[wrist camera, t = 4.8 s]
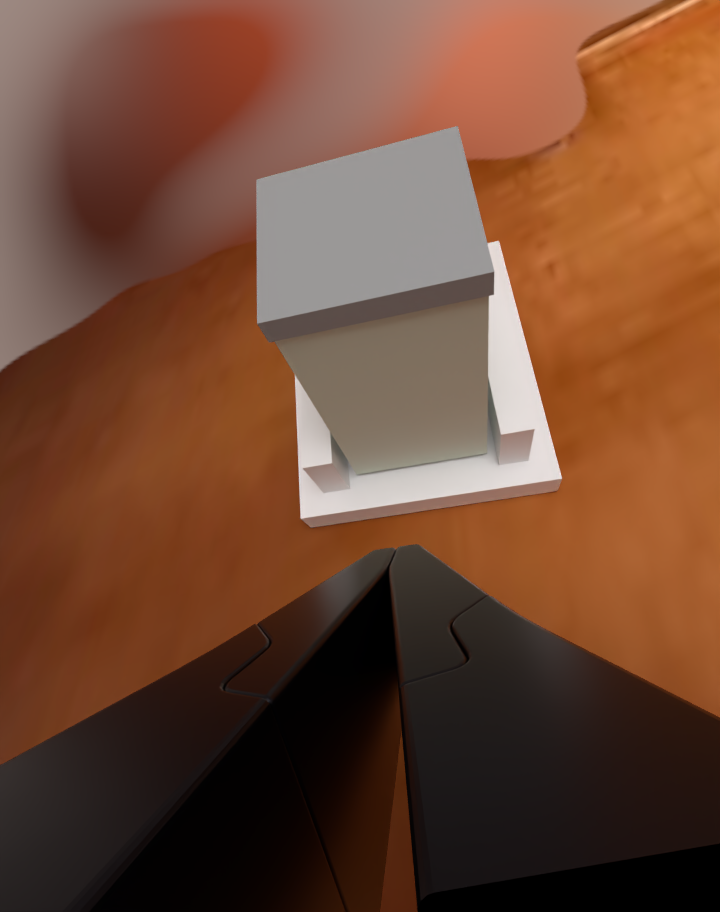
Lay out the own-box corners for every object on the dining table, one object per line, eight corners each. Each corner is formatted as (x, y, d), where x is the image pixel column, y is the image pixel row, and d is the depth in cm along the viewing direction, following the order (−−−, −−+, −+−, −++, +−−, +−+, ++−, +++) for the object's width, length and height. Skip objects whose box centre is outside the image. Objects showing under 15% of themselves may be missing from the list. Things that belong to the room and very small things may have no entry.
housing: (557, 491, 22) (573, 448, 18) (311, 527, 24) (275, 496, 20) (498, 262, 28) (500, 190, 24) (300, 306, 29) (271, 246, 25)
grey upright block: (490, 455, 22) (494, 271, 12) (354, 477, 23) (257, 323, 13) (468, 351, 24) (457, 126, 14) (345, 376, 25) (256, 179, 15)
